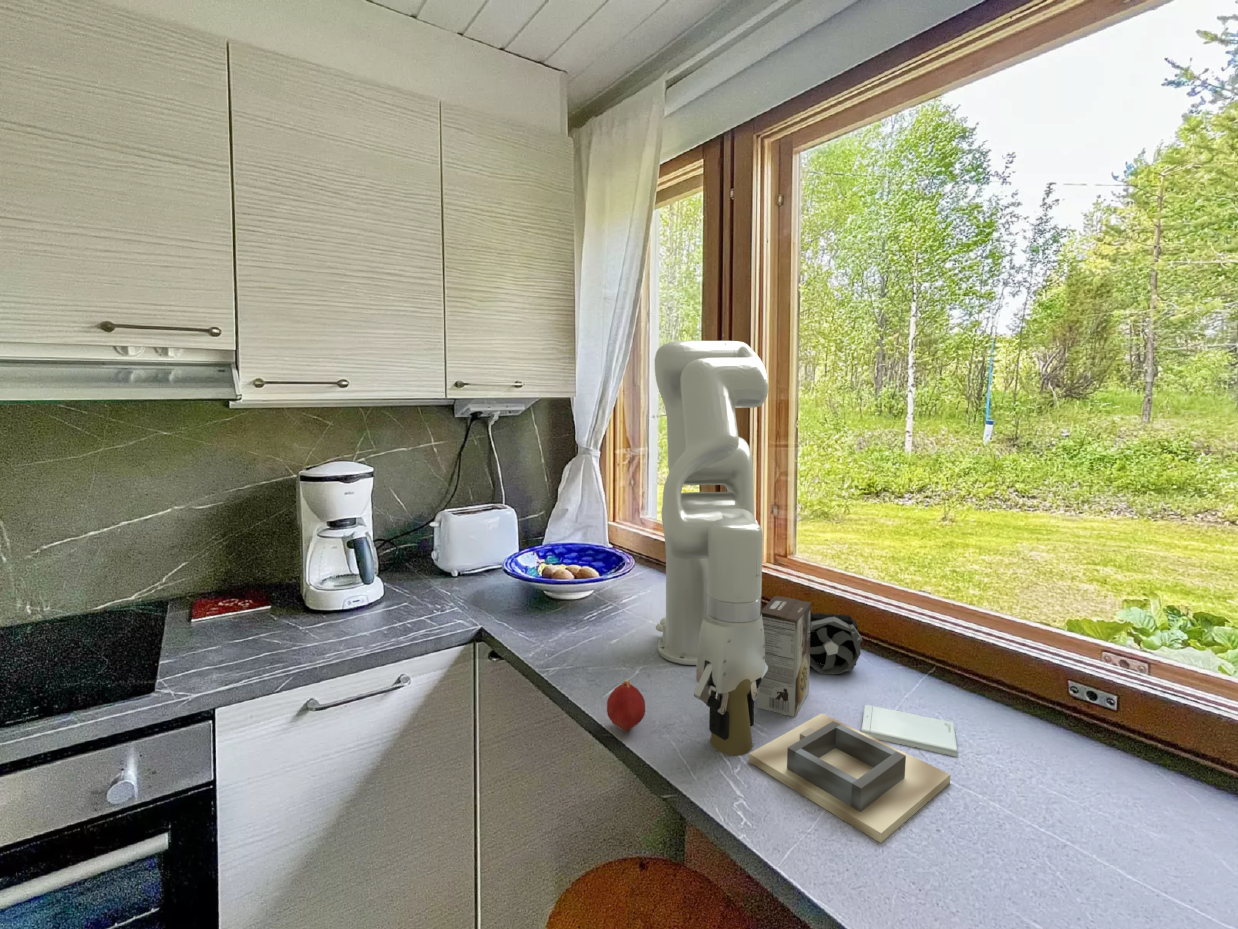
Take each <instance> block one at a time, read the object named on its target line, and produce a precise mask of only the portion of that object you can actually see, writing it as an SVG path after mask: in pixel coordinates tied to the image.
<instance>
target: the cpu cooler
mask: <svg viewBox="0 0 1238 929" xmlns="http://www.w3.org/2000/svg"><path fill="white" fill-rule="evenodd" d="M858 629H859V626H858V624H857V621H856V619H853V618H852V615H848V614H842V613H832V612H831V613H829V612H828V613H827V612H825V613H824V612H819V611H818V612H816V611H815V612H814V611H811V630H810V666H809V667H811V668H813V669H814V670H816V672H818V673H819V674H820V675H840V674H844V673H845V672H847V671H850V670H853V669H854V668H855V666H856V665H857V661H858V660H859V658H860V656H861V643H862V642H863V638H862V635H861V634H860V632H858Z"/></svg>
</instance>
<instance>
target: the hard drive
mask: <svg viewBox="0 0 1238 929" xmlns="http://www.w3.org/2000/svg"><path fill="white" fill-rule="evenodd" d="M860 732H862V733H864V734H867V735H869V736H871V737H873V738H875V739H877V740H879V741H883V742H889V743H893V744H897V745H901V744H902V745H903V746H906V745H907V747H912V748H915V747H918V748H917V749H919V748H921V749H920V750H924V749H925V750H924V751H928V750H929V751H928V752H932V751H935V752H934V753H937V752H939V753H938V754H941V753H942V755H946V754H948V755H947V756H950V755H952V756H951V757H958V748H957V747H958V746H957V740H956V733H955V724H954V722H952V721H947V720H941V719H938V718H934V717H933V718H932V717H928V716H924V715H920V714H919V715H918V714H913V713H909V712H904V711H900V710H893V709H889V708H885V707H879V706H876V705H870V704H865V705H864V708H863V715H862V724H861V731H860Z"/></svg>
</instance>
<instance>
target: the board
mask: <svg viewBox="0 0 1238 929" xmlns="http://www.w3.org/2000/svg"><path fill="white" fill-rule="evenodd" d="M748 762H749V764H751V765H753V766H755V767H756V768H758V769H760V770H762V771H763V772H764V773H767V774H768V775H769V776H771V777H773V778H775V779H776V780H777V781H779V782H781V783H782V784H784V785H786V786H787V787H789V788H791V789H792V790H794V791H796V793H799V794H800V795H802V796H804V797H805V798H806V799H809V800H810V801H812V802H813V803H815V804H817V805H818V806H820V807H822V808H823V809H825V810H826V811H828V812H830V813H831V814H833V815H834V816H836V817H838V818H839V819H841V820H842V821H844V822H846V823H848V824H849V825H851V826H853V827H854V828H856V829H857V830H859V831H860V832H862V833H863V834H865V835H867V836H868V837H870V838H872V839H873V840H875V841H877V842H878V843H880V844H882V843H883V842H884V841H885V840H886V839H887V838H888V837H890V836H891V835H892V834H893V833H894V832H895V831H896V830H898V829H899V828H900V827H901V826H902V825H903V824H904V823H906V822H908V820H909V819H911V818H912V816H914V815H915V814H916V813H918V811H919V810H921V809H922V808H923V807H924V806H925V805H926V804H928V803H929V802H930V801H931V800H932V799H933V798H934V797H936V796H937V795H938V794H939V793H940V792H941V791H942V790H944V789H945V788H946V787H947V786H948V785H950V784H951V773H949V772H946V771H944V770H942V769H940V768H938V767H935V766H934V765H932V764H929V763H927V762H925V761H923V760H921V759H919V758H917V757H915V756H912V755H910V754H908V753H907V752H904V751H902V750H900V749H898V748H896V747H894V746H892V745H889V744H887V743H885V742H884V741H882V740H879V739H875V738H873V737H871V736H869V735H867V734H864V733H862V732H861V731H860V730H858V729H856V728H854V727H852V726H849V725H847V724H846V723H843V722H841V721H840V720H837V719H835V718H832V717H830V716H829V715H826V714H824V713H819V714H817V715H816V716H814V717H812V718H811V719H808V720H806V721H805V722H804V723H802V724H800V725H798V726H795V727H794V728H792V729H791V730H789V731H787V732H785V733H783V734H782V735H780V736H778V737H776V738H774V739H772V740H770V741H769V742H767V743H765V744H764V745H761V746H760V747H758V748H756V749H755V750H753V751H751V752H748ZM928 801H929V802H928ZM927 802H928V803H927Z"/></svg>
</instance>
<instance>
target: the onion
mask: <svg viewBox="0 0 1238 929" xmlns="http://www.w3.org/2000/svg"><path fill="white" fill-rule="evenodd" d="M606 712H607V717H608V718H609V719H610V721H611V723H612V724H613V725H614V726H616V727H618V728H619V729H620V730H622V731H623V732H627V733H628V732H629V731H631V730H632V729H633V728H635V727H636V726H637V725H638V724H640V722H642V720H643V719H644V717H645V713H646V702H645V698H644V696H643V694H642V692H640V690H639V689H638V687H636V686H634V685H633V684H631V683H630V680H626V679H625V680H623V682H622V683H621V684H620V685H618V686H617V687H615V688H614V689H613V690H612V692H611V693H610V695H609V696H608V698H607V701H606Z"/></svg>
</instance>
